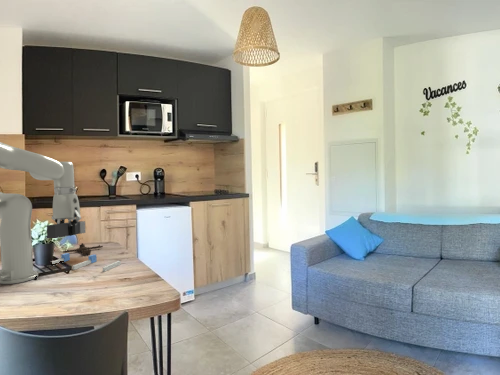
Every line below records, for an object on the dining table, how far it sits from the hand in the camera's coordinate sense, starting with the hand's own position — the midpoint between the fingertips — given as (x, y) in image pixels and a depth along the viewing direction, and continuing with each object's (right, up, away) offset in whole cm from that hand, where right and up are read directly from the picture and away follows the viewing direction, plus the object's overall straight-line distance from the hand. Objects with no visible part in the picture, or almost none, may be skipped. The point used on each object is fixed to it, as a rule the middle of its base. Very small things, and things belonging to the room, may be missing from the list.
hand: (67, 234), depth 144 cm
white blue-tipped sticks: (+7, -13, 0) cm, 15 cm away
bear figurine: (-4, -12, +23) cm, 27 cm away
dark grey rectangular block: (0, 0, 0) cm, 0 cm away
